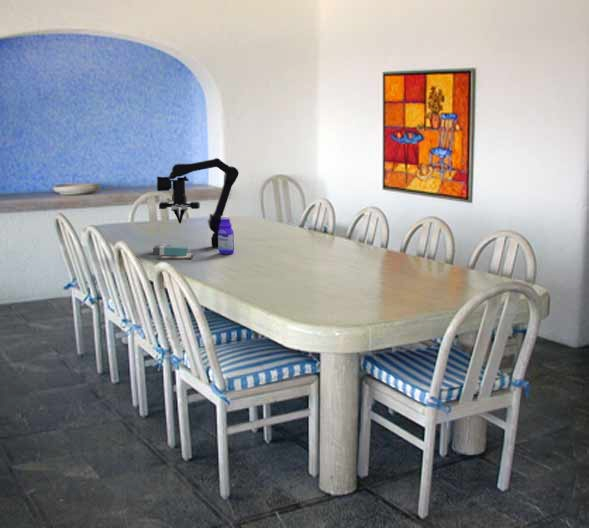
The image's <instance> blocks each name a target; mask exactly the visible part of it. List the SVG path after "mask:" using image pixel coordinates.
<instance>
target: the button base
mask: <svg viewBox="0 0 589 528" xmlns="http://www.w3.org/2000/svg"><path fill="white" fill-rule="evenodd" d="M166 246H172V245H171V244H166ZM152 254H153V255H159V254H160V247H158V246H157V244H155V245H154V246H153V247H152Z"/></svg>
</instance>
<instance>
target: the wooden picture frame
mask: <svg viewBox="0 0 589 528" xmlns="http://www.w3.org/2000/svg"><path fill="white" fill-rule="evenodd" d="M157 255H158V257H157V258H156V260H192V259H193V257H194V256H195V253H194V252H193V253H191V252H189V253H188V252H187V256H176V255H160V254H157Z"/></svg>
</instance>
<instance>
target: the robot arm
mask: <svg viewBox="0 0 589 528" xmlns="http://www.w3.org/2000/svg"><path fill="white" fill-rule="evenodd" d="M211 168H218V169H219V170H221V171H222V172H223V173H224V176H223V185H222V188H221V191H220V193H219V197H218V200H217V204H216V207H215V209H214V211H213V213H210V214H209V218H208V220H207V223H208V224H207V226H208V227H209V229H210V231H212V232H213V233H212V236H211V238H210V239H211V242H210V243H211V248H218V231H219V229H220V227H219V225H220V223H221V216H224V211H225V208H226V205H227V203H228V199H229V196H230V193H231V190H232V187H233V186H234V184H235V182H236V180H237V179H238V177H239V173H240V172H239V170H238V169H237V168H236V167H235V166H232V165H231V166H230V165H228V164H226V163H225V162H223V161H222V160H221V159H220V158H218V157H215V158H213V159H208V160H202V161H197V162H192V163H175V164H174V165H172V168H171V172H170V173H169V174H168V176H157V177H156V191H157V192H169V191H170V190H172V195H171V201H172V202H173V203H171V202H169V201H161V202H160V203H159V204H158V209H160V210H166V209H167V208H171V211H172V212H173V214H175V216H176V220H177V221H178V223H179V224H182V221H183V218H184V215H185V213H186V211H188V210H189V208H190V209H192V210H193V209H195V210H197V209H200V208H201V203H200V202H199V201H191V202H190V203H189V202H188V198H187V195H186V182H189V180H190V179H189V178H187V176H186V175H189V174H190V173H192V172H197V171H202V170H207V169H208V170H209V169H211ZM180 208H181V209H180Z"/></svg>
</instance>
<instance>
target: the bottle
mask: <svg viewBox="0 0 589 528" xmlns="http://www.w3.org/2000/svg"><path fill="white" fill-rule="evenodd" d="M232 225H233V224H232V223H231V218H230V216H229V215H223V216H221V223H220V225H219V227H220V229H219V231H218V247H217V248H218V253H219V254H221V255H232V254H234V251H235V241H234V240H235V239H234V238H235V235H234V234H235V233H234V229H233V228H232Z"/></svg>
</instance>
